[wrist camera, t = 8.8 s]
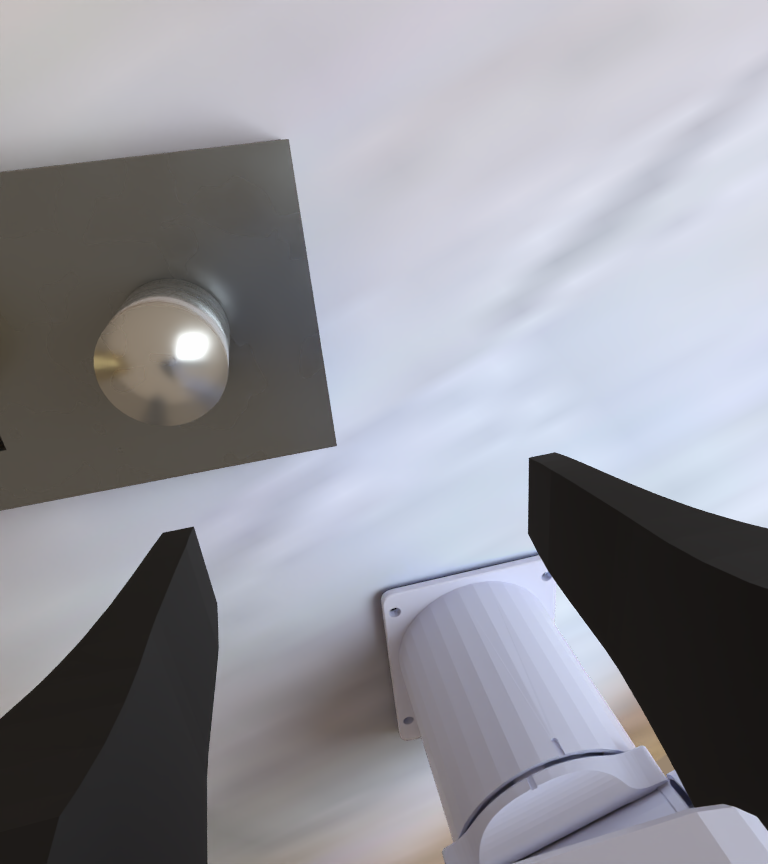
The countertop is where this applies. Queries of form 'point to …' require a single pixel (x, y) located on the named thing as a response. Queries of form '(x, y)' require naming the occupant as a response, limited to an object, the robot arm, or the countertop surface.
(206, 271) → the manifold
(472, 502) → the countertop surface
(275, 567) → the countertop surface
